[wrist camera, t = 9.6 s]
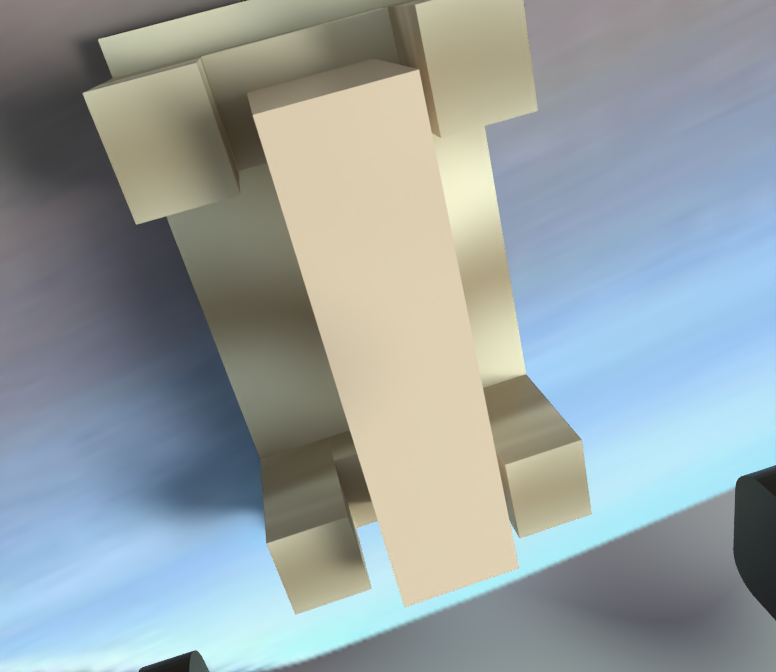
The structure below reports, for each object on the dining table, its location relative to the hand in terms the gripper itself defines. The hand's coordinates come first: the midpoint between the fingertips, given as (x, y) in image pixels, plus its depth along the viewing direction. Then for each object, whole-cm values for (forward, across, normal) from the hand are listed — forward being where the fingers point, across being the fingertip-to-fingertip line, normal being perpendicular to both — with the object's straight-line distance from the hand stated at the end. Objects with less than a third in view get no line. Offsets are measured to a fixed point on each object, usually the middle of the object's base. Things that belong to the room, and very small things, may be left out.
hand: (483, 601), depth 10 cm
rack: (+15, -1, +1) cm, 15 cm away
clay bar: (+13, -1, +1) cm, 13 cm away
